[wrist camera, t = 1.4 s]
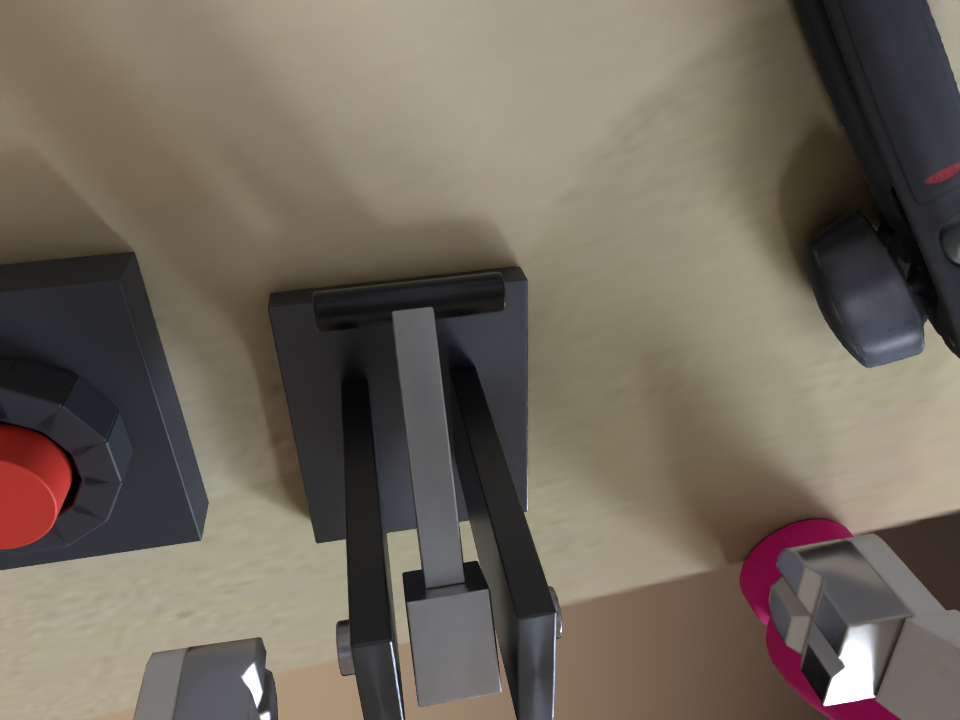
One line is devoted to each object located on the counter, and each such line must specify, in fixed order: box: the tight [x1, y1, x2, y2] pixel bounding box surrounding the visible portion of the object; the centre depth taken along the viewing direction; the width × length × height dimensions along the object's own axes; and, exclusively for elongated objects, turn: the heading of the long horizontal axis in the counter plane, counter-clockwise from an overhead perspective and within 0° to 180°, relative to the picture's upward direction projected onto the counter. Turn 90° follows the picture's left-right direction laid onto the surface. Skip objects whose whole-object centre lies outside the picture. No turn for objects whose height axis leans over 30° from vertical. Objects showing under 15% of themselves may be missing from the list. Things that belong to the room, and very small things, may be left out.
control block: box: [0, 252, 209, 570], centre depth 25 cm, size 11×9×4 cm
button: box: [0, 424, 72, 549], centre depth 23 cm, size 4×4×2 cm
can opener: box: [793, 0, 960, 368], centre depth 25 cm, size 18×7×6 cm, turn 29°
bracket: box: [268, 266, 563, 720], centre depth 24 cm, size 11×9×13 cm
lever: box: [313, 272, 506, 707], centre depth 20 cm, size 11×5×2 cm, turn 2°
